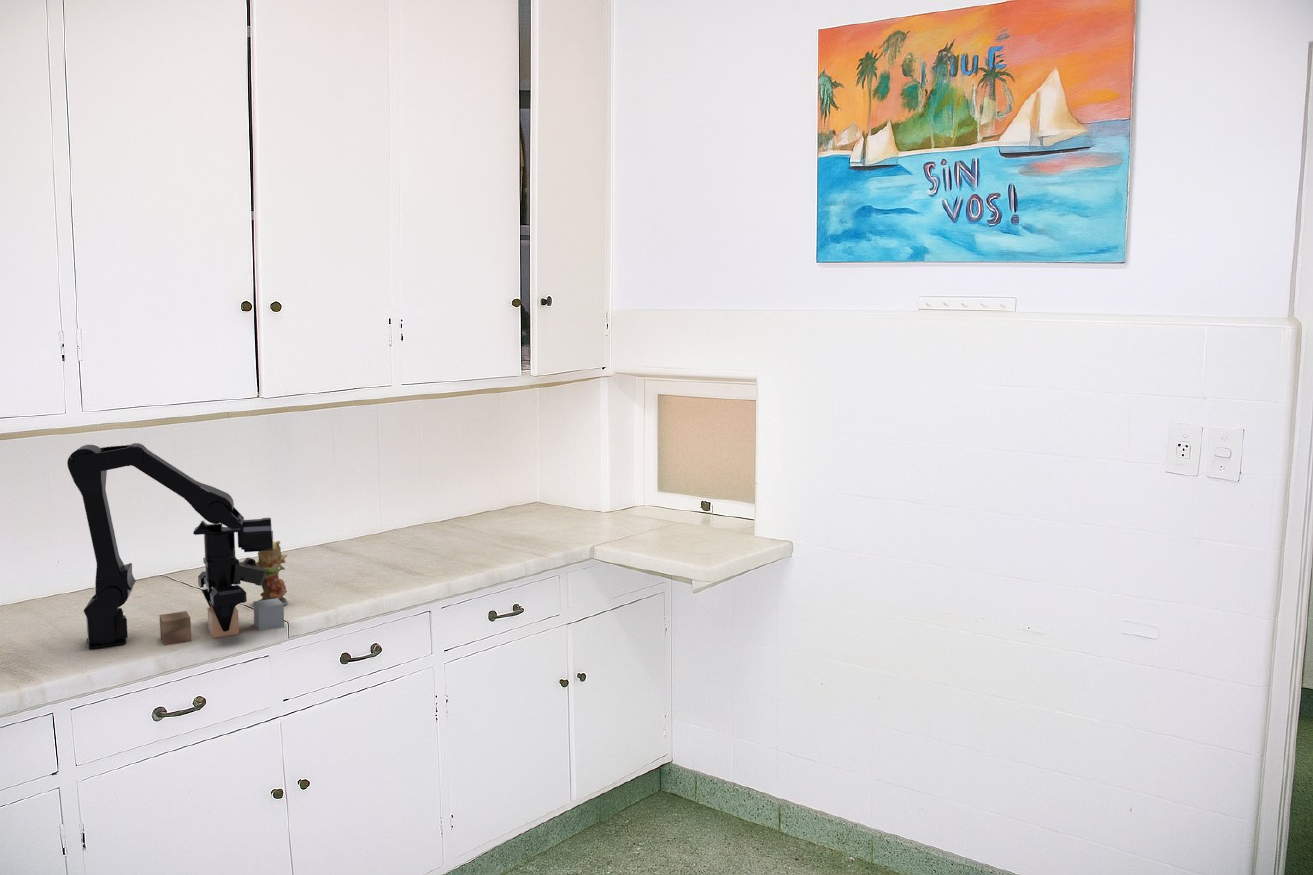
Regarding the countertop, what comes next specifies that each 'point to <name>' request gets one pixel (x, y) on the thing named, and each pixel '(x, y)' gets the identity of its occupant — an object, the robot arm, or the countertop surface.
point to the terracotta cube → (216, 628)
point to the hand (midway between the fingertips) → (223, 627)
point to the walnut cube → (175, 628)
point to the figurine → (272, 573)
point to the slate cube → (268, 614)
